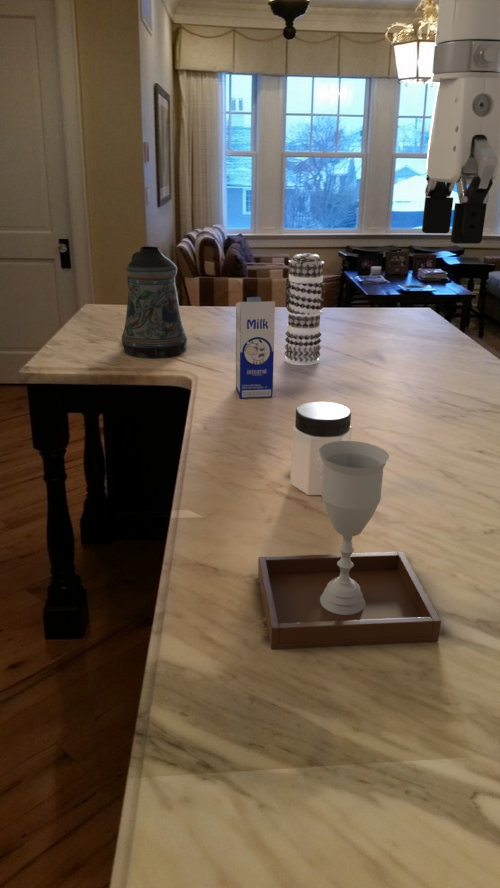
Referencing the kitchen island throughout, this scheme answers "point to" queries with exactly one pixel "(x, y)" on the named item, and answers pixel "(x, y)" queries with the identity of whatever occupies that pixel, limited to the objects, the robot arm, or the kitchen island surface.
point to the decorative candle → (304, 309)
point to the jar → (315, 441)
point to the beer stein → (153, 307)
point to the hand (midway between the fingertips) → (449, 237)
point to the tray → (311, 625)
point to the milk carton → (255, 348)
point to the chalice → (349, 510)
